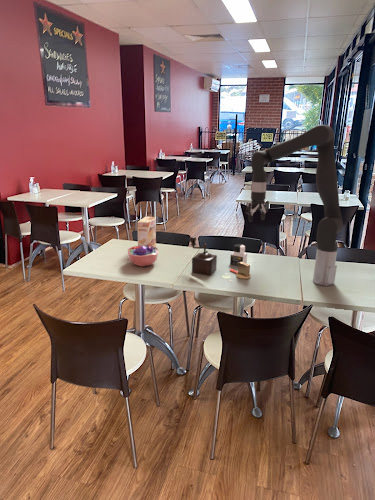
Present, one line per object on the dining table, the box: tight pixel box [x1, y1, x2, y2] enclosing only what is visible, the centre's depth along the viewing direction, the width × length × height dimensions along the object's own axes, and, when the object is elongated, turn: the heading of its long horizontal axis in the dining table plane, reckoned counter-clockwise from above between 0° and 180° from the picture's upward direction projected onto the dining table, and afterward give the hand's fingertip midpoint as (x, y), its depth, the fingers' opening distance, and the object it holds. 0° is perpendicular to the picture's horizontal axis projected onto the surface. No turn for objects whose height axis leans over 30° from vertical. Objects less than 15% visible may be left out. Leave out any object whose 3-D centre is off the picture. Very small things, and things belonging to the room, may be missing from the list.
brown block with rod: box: [229, 262, 252, 280], centre depth 189 cm, size 14×7×7 cm, turn 34°
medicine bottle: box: [229, 243, 248, 267], centre depth 205 cm, size 7×7×12 cm
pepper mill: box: [188, 236, 218, 277], centre depth 193 cm, size 16×11×18 cm
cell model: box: [127, 245, 159, 267], centre depth 205 cm, size 17×20×11 cm
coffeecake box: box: [137, 216, 157, 248], centre depth 228 cm, size 15×7×20 cm, turn 167°
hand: (256, 220), depth 200 cm, fingers open, 8 cm apart
